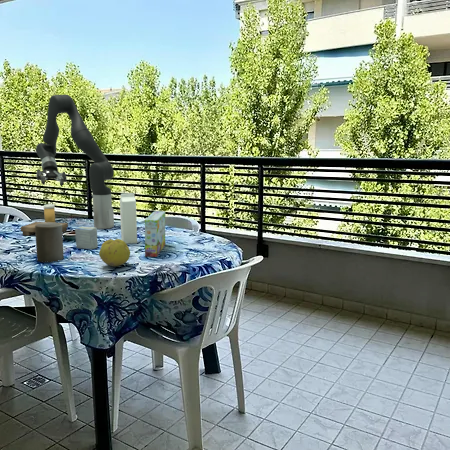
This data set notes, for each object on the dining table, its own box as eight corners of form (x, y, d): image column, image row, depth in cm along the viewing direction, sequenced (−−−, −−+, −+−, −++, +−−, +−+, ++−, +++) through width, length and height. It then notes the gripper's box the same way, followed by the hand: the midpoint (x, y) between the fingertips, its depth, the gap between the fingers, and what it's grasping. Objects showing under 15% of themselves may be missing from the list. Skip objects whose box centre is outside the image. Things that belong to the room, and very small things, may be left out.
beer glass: (57, 226, 236) (56, 204, 234) (52, 228, 231) (51, 205, 229) (48, 225, 237) (46, 204, 234) (43, 227, 232) (41, 205, 229)
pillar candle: (37, 263, 169) (34, 224, 166) (36, 257, 178) (34, 219, 175) (64, 261, 173) (63, 222, 170) (62, 254, 182) (61, 218, 179)
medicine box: (98, 247, 194) (97, 227, 192) (91, 249, 190) (90, 229, 188) (82, 245, 196) (81, 226, 194) (76, 248, 192) (74, 228, 190)
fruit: (92, 268, 163) (91, 241, 161) (111, 260, 174) (110, 235, 172) (119, 272, 159) (117, 244, 157) (136, 263, 170) (136, 237, 168)
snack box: (158, 257, 179) (157, 219, 176) (144, 257, 179) (143, 219, 176) (166, 244, 200) (165, 210, 197) (153, 244, 200) (152, 210, 197)
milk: (137, 242, 202) (136, 193, 198) (123, 244, 200) (122, 194, 195) (134, 239, 208) (133, 192, 203) (121, 241, 205) (119, 192, 201)
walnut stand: (68, 231, 225) (67, 223, 224) (54, 236, 212) (54, 228, 211) (36, 229, 227) (35, 221, 226) (21, 235, 214) (20, 227, 214)
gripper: (35, 159, 235) (38, 176, 224) (64, 161, 242) (68, 179, 231) (34, 171, 239) (37, 189, 228) (62, 173, 246) (66, 191, 235)
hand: (53, 184), depth 230 cm, fingers open, 8 cm apart
